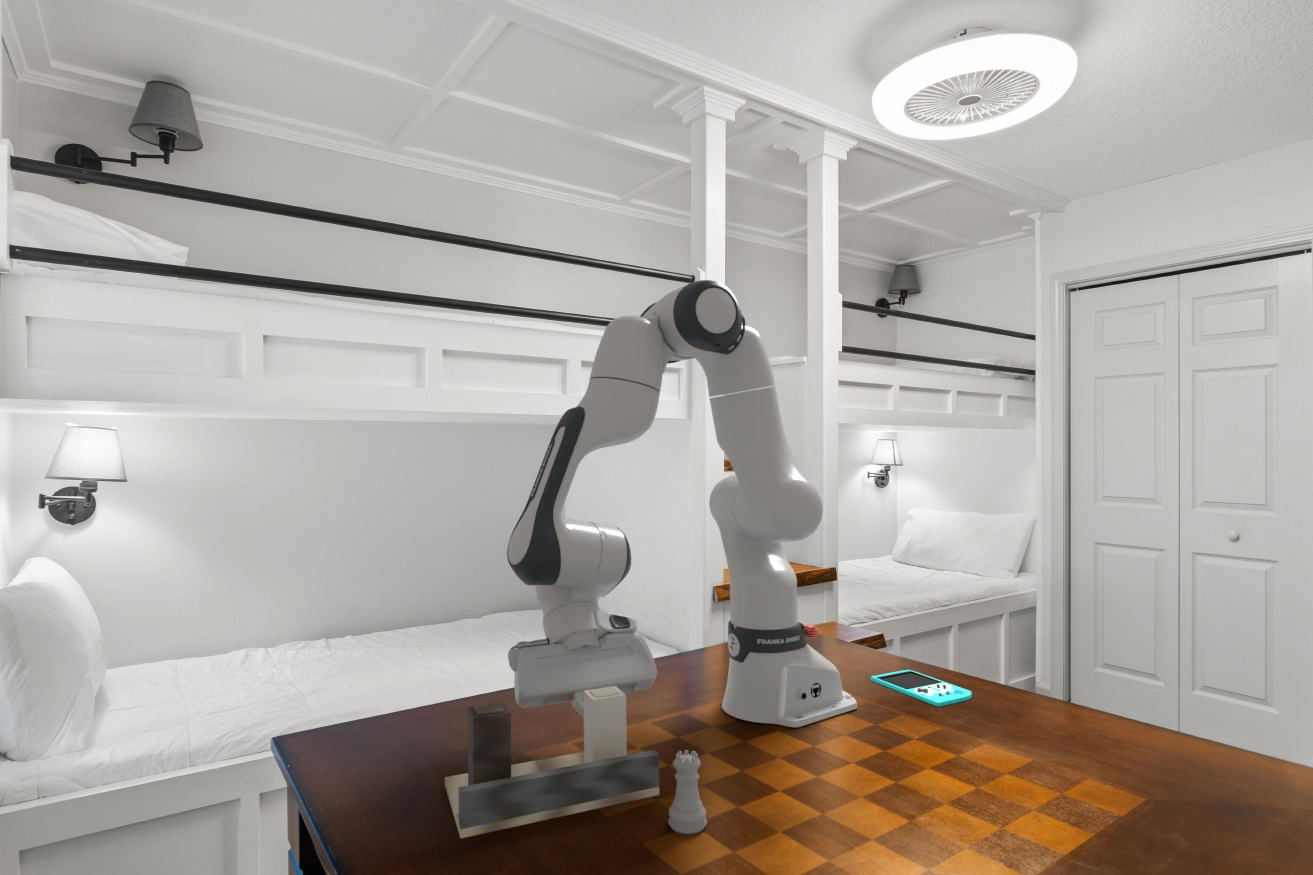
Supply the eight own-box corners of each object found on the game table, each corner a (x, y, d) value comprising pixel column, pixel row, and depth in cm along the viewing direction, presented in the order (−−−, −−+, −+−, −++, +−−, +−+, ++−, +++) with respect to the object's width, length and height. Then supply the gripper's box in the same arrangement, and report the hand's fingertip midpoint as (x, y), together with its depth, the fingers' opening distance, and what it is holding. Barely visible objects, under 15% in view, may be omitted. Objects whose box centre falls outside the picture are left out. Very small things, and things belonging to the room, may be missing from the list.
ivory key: (616, 758, 95) (615, 684, 96) (626, 770, 92) (626, 693, 92) (584, 764, 94) (583, 689, 94) (593, 776, 90) (593, 698, 90)
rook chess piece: (704, 837, 78) (703, 764, 78) (664, 833, 79) (663, 761, 79) (709, 817, 82) (708, 747, 82) (671, 813, 83) (671, 745, 83)
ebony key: (504, 779, 89) (504, 700, 90) (511, 793, 86) (510, 710, 86) (468, 786, 88) (467, 706, 88) (473, 800, 84) (473, 716, 84)
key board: (619, 751, 101) (619, 716, 101) (659, 794, 88) (658, 753, 88) (444, 784, 91) (444, 745, 91) (460, 838, 78) (460, 792, 78)
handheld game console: (936, 709, 117) (936, 701, 117) (868, 682, 132) (868, 675, 132) (979, 700, 122) (979, 692, 122) (908, 674, 136) (908, 667, 136)
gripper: (509, 631, 98) (525, 726, 89) (644, 616, 106) (672, 702, 97) (502, 655, 102) (518, 749, 93) (634, 639, 110) (660, 724, 101)
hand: (598, 725), depth 95 cm, fingers closed, pressing on ivory key
